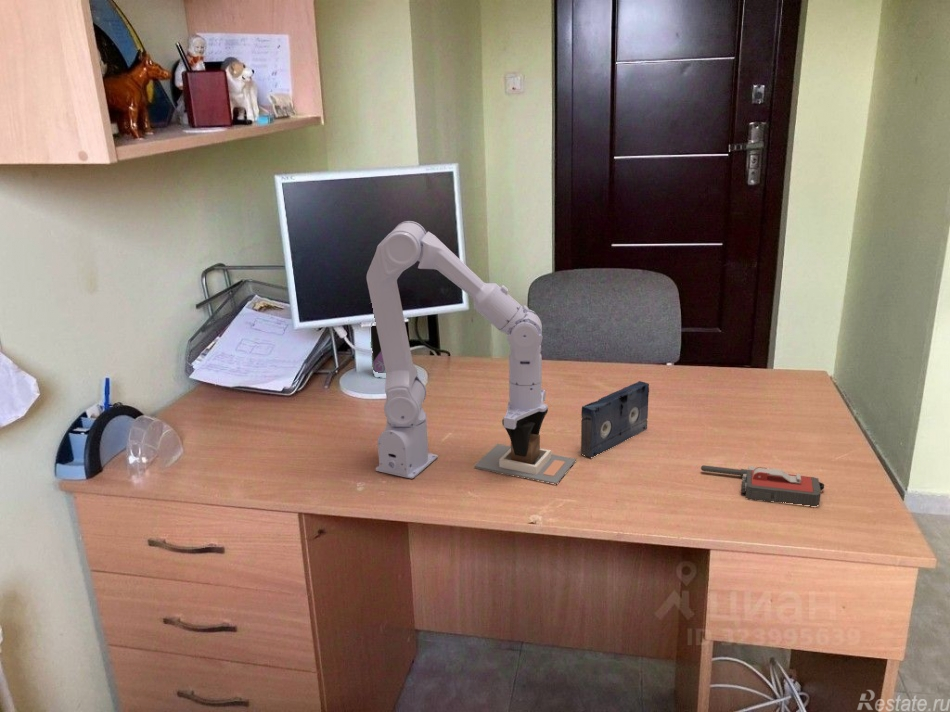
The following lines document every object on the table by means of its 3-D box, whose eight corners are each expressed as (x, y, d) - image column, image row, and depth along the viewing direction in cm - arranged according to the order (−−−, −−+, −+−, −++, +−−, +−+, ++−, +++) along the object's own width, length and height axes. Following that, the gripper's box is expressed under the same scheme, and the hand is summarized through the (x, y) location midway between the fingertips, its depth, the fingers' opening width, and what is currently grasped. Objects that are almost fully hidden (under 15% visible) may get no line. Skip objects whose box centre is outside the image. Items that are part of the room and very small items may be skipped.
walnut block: (531, 464, 140) (531, 443, 138) (510, 459, 142) (510, 440, 140) (539, 454, 143) (539, 435, 142) (519, 451, 145) (519, 431, 144)
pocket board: (556, 485, 135) (556, 475, 135) (474, 468, 142) (474, 458, 141) (576, 461, 144) (576, 451, 143) (497, 446, 150) (497, 436, 150)
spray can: (380, 380, 186) (375, 298, 179) (368, 374, 190) (362, 294, 183) (399, 374, 189) (395, 294, 183) (387, 368, 193) (382, 290, 187)
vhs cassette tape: (637, 426, 158) (639, 380, 155) (649, 430, 156) (652, 383, 153) (578, 454, 146) (579, 405, 143) (590, 460, 144) (591, 410, 141)
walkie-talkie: (821, 486, 134) (700, 471, 140) (825, 463, 132) (702, 449, 138) (826, 512, 126) (698, 495, 132) (830, 487, 124) (700, 472, 130)
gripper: (530, 397, 130) (530, 471, 134) (561, 370, 142) (560, 438, 146) (492, 391, 133) (493, 463, 137) (525, 364, 145) (525, 431, 149)
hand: (525, 450), depth 142 cm, fingers closed on walnut block, 4 cm apart
